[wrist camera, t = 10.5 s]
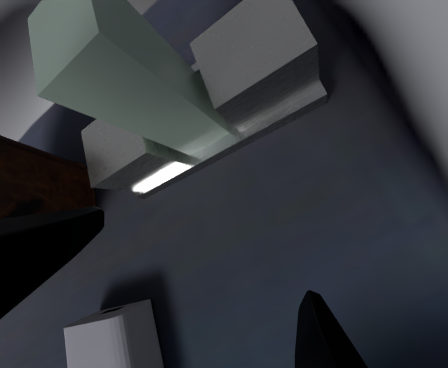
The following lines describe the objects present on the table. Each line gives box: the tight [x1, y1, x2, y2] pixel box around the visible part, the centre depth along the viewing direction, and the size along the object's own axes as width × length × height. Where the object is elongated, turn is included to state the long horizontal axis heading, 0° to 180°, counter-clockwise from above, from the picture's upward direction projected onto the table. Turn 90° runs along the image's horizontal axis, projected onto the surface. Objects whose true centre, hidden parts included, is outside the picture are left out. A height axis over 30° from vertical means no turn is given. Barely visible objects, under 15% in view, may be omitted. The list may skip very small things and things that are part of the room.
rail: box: [81, 0, 327, 199], centre depth 19 cm, size 8×21×6 cm, turn 111°
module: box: [28, 0, 229, 155], centre depth 15 cm, size 5×4×12 cm
